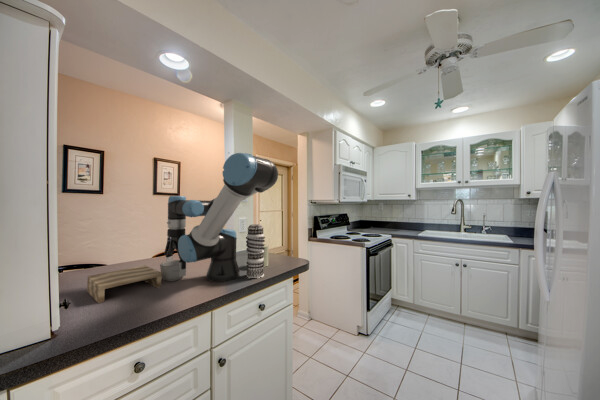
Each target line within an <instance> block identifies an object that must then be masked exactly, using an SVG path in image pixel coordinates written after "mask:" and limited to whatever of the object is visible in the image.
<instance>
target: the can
mask: <svg viewBox="0 0 600 400" xmlns="http://www.w3.org/2000/svg"><path fill="white" fill-rule="evenodd" d="M263 247H264V249H263V250H264V252H263V258H264V260H263V261H264V263H263V264H264V266H263V267H265V266H268V265H269V245H268V244H265V245H264V246H263ZM268 267H269V266H268ZM265 268H266V267H265Z"/></svg>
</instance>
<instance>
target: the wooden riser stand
mask: <svg viewBox="0 0 600 400" xmlns="http://www.w3.org/2000/svg"><path fill="white" fill-rule="evenodd" d="M86 281H87V285H86V286H87V288H86V291H87V293H88V294H89V295H90V296H91V297H92V298H93V299H94V300H95V301H96V303H98V304H101V303H104V302H105V293H106V292H105V291H106V289H112V288H115V287H120V286H124V285H129V284H132V283H138V282H142V281H144V282H145V283H147V284H149V285H151V286H153V287H154V288H156V289H158V288H161V287H162V277H161V271H159V270H157V269H154V268H153V267H150V266H147V265H141V266H135V267H129V268H124V269H119V270H114V271H108V272H103V273H98V274H93V275H88V276H87V280H86Z"/></svg>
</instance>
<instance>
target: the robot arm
mask: <svg viewBox="0 0 600 400" xmlns="http://www.w3.org/2000/svg"><path fill="white" fill-rule="evenodd" d="M222 169H223V170H222V177H223V179H222V182H223V184H224V185H223V187H222V188H221V190H220V191H219V193H218V195H217V196H216V197H215V198H213V199H211V200H201V199H200V200H199V199H198V200H197V199H187V197H186V196H185V195H183V196H182V195H171V196H168V200H167V201H168V202H167V221H166V224H167V228H168V229H167V233H166V235H167V240H166V246H165V250H164V251H163V252H164V253H163V255H164V256H165V259H166V260H165V262H168V261H173V260H174V252H175V250H176V252H177V256H178V258H179V259H178V260H180V261H179V277H181V276H183V277H185V276H187V275H186V274H187V264H188V263H197V262H199V261H203V260H204V261H205V260H208V259H210V262H209V266H208V269H207V272H206V279H207V281H210V282H228V281H231V280H235V279H237V278H239V277H240V273H241V271H240V267H239V265H238V261H237V239H238V238H237V231H236V230H235V229H229V228H228V229H227V228H224V227H225V226H226V224H228V222H229V220H230V218H231V217H232V216H233V214H234V212H235V211H236V210H237V208H238V207H239V205H240V204H241V202H243V201H245V200H246V199H248V198H250V197H252V196H253V195H256V194H258V193H259V194H260V193H261V194H262V193H264V192H265V191H269V190H270V189H271V188H272V187H274V185H275V184H276V183H277V181H278V179H279V171H278V168H277V166H276V164H275V163H274V162H272V161H271V160H270V159H268V158H263V157H259V156H256V155H252V154H250V153H246V152H245V153H243V152H236V153H235V152H234V153H233V154H231V155H230V156H228V158H226V159H225V162H224V164H223V167H222ZM187 217H189V218H198V217H203V218H202V220H201V222H200V223H199V224H198V225H196V226H194V227H193V228H192V229H191V231H190V232H189V233H188V234H186V226H187V223H186V222H187V221H186V220H187V219H186V218H187Z"/></svg>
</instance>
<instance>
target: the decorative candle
mask: <svg viewBox="0 0 600 400" xmlns="http://www.w3.org/2000/svg"><path fill="white" fill-rule="evenodd" d="M246 235H247V236H246V237H245V239H246V241H245V242H246V243H245V244H246V245H245V246H246V247H247V248H246V253H247V258H246V276H247V277H248V278H247V277H246V278H247V279H250V278H257V279H261V278H260V277H262V278H264V276H265V268H263V266H264V264H263V263H264V261H263V260H264V258H263V252H264V250H263V249H264V247H263V246H264V245H266V244H264V243H265V242H266V240H265V239H266V237H265V236H264V235H265V234H264V227H263V225H262V224H260V223H258V224H249V226H248V227H247V234H246Z"/></svg>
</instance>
